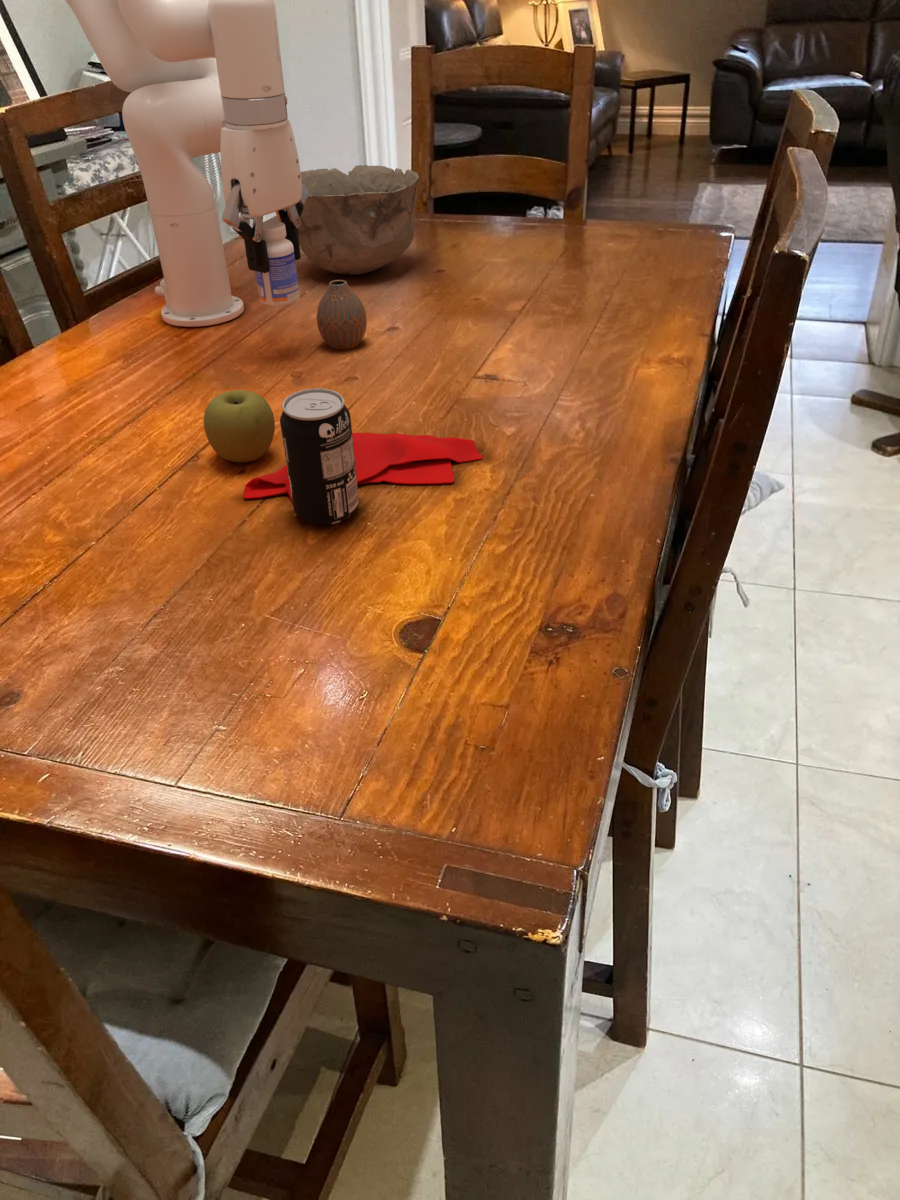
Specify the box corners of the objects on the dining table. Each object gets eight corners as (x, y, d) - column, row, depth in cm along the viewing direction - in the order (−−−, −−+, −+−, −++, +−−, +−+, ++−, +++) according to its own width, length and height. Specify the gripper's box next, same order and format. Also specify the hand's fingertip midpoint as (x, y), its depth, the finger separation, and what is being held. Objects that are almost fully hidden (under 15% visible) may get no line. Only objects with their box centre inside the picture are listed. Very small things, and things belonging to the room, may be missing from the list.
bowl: (445, 262, 164) (442, 169, 155) (372, 298, 149) (363, 198, 140) (346, 247, 173) (337, 159, 165) (268, 280, 159) (254, 185, 150)
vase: (361, 354, 129) (355, 290, 124) (313, 352, 130) (305, 289, 125) (374, 336, 135) (368, 275, 130) (328, 335, 136) (321, 274, 131)
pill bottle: (306, 295, 127) (298, 221, 121) (288, 308, 123) (279, 232, 117) (271, 291, 129) (261, 218, 123) (252, 304, 124) (241, 229, 119)
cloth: (470, 426, 109) (470, 408, 108) (492, 482, 98) (492, 462, 97) (245, 449, 107) (242, 430, 105) (242, 508, 96) (238, 489, 94)
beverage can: (295, 493, 97) (279, 388, 89) (359, 489, 97) (348, 384, 89) (292, 530, 92) (275, 422, 84) (359, 526, 92) (348, 417, 84)
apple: (222, 479, 101) (210, 418, 97) (202, 451, 107) (190, 392, 102) (289, 462, 103) (279, 402, 99) (266, 435, 109) (256, 377, 105)
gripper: (279, 98, 119) (296, 243, 130) (180, 120, 108) (207, 278, 119) (324, 102, 116) (338, 251, 127) (227, 126, 105) (251, 288, 116)
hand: (274, 263), depth 123 cm, fingers closed on pill bottle, 5 cm apart
